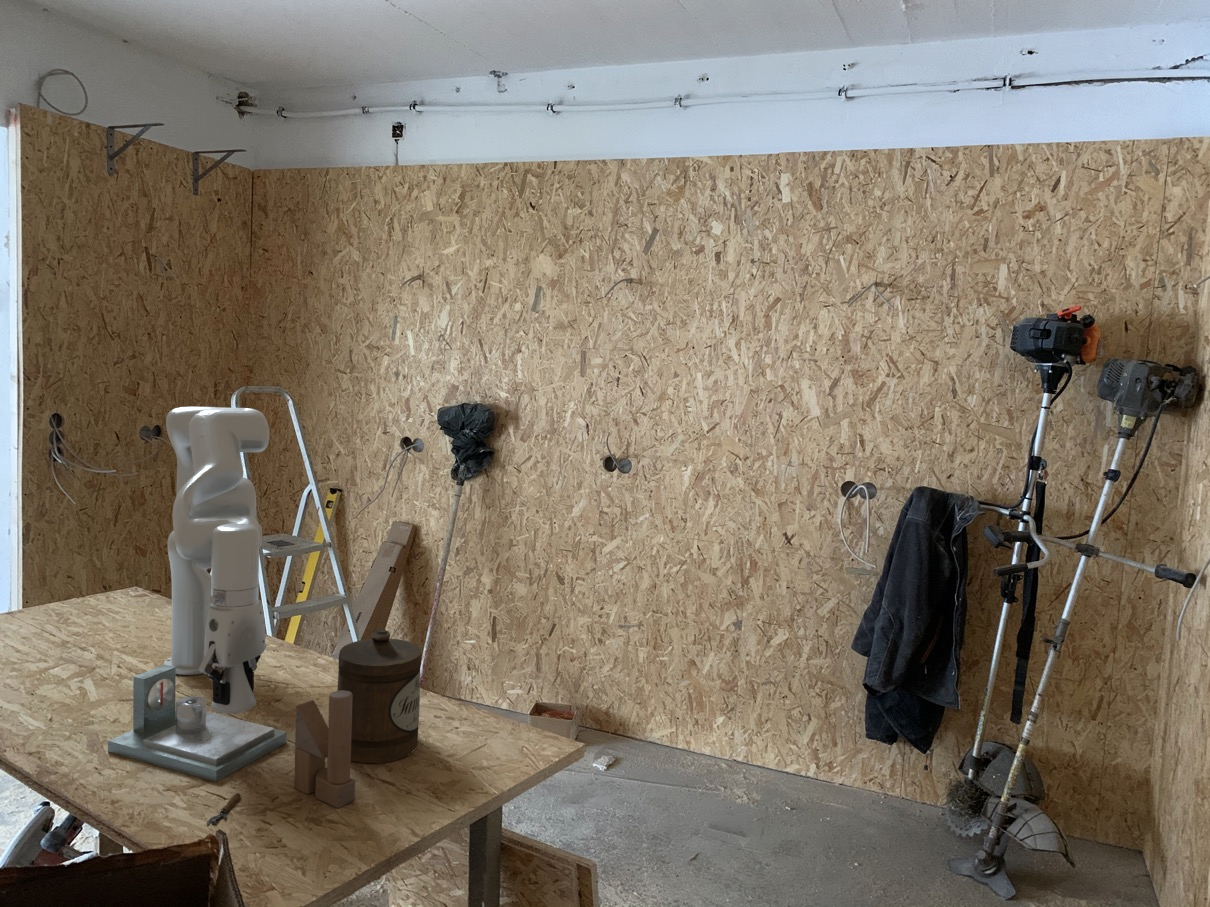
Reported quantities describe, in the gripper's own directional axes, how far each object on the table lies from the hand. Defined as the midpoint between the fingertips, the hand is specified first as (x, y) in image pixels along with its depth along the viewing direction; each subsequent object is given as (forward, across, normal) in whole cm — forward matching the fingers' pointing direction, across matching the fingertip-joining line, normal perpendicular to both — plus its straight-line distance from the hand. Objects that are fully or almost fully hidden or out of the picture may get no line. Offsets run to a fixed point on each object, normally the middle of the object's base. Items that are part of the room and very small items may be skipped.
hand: (233, 696), depth 156 cm
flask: (+2, 0, 0) cm, 2 cm away
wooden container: (+11, +15, -19) cm, 27 cm away
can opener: (+11, -15, -12) cm, 22 cm away
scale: (+11, 0, +8) cm, 13 cm away
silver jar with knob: (+8, 0, +10) cm, 12 cm away
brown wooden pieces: (+11, -4, -22) cm, 25 cm away
